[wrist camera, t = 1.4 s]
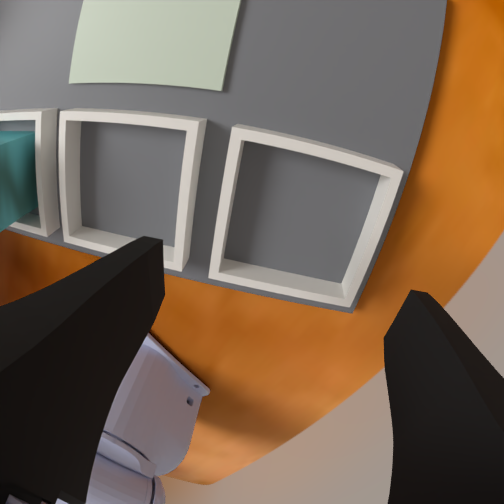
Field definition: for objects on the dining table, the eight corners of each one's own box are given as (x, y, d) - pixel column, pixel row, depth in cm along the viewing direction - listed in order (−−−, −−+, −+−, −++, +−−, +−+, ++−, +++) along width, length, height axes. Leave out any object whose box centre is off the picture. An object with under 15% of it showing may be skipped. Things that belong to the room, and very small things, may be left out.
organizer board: (350, 305, 19) (355, 329, 17) (-4, 220, 19) (-22, 232, 17) (441, -8, 9) (460, -17, 7) (9, -19, 9) (-11, -21, 7)
